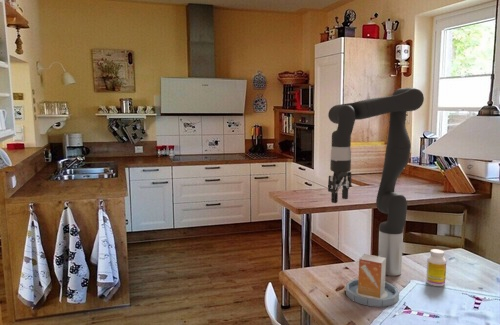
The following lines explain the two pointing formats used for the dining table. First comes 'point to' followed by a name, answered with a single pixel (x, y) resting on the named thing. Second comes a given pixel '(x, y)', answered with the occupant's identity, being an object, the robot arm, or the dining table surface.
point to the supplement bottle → (436, 268)
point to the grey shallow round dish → (386, 299)
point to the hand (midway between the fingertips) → (339, 200)
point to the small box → (372, 275)
